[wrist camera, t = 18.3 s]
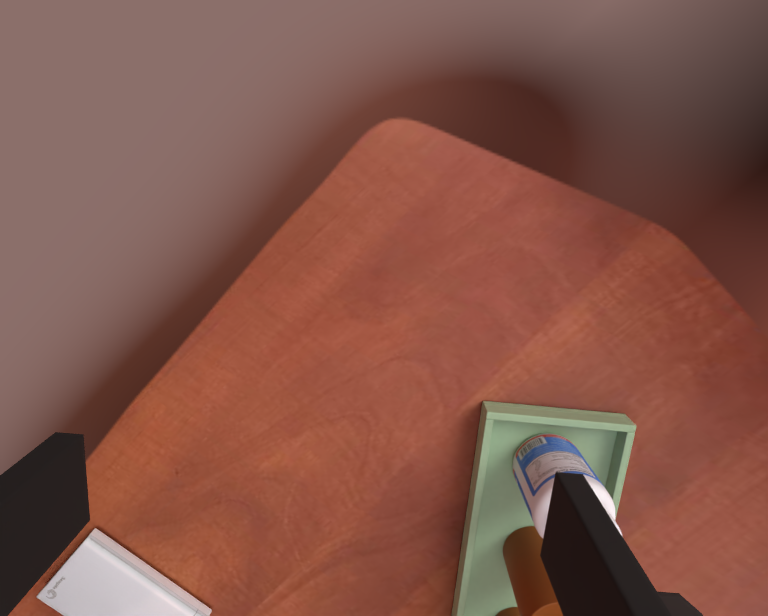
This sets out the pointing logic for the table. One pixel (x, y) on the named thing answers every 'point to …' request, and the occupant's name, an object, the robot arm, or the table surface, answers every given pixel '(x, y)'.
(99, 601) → the hard drive
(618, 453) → the tray
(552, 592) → the bottle mid
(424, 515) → the table surface
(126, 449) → the table surface
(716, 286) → the table surface
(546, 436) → the pill bottle
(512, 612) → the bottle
